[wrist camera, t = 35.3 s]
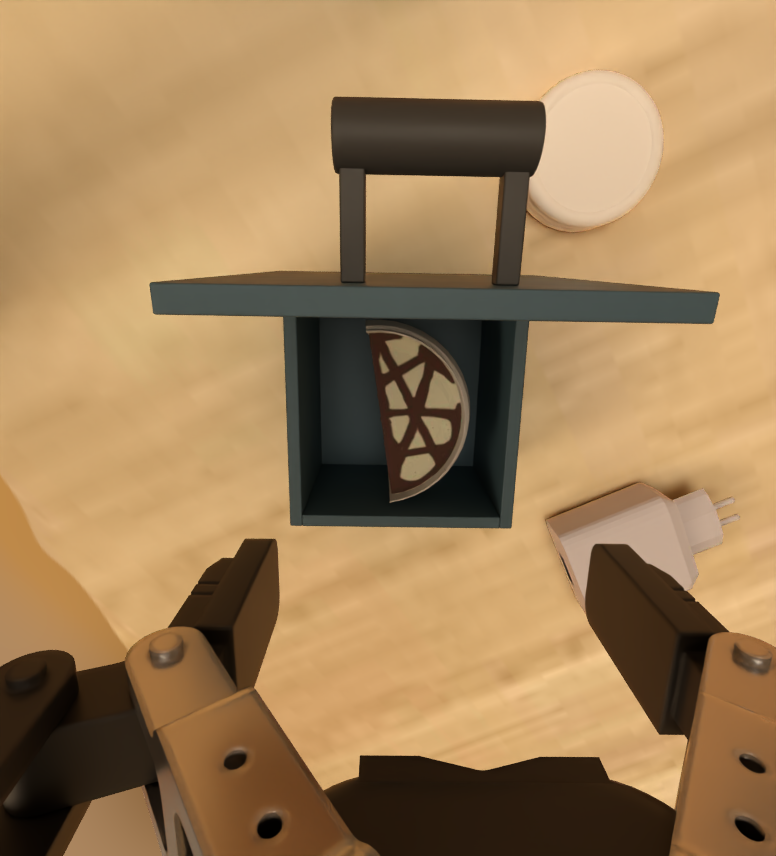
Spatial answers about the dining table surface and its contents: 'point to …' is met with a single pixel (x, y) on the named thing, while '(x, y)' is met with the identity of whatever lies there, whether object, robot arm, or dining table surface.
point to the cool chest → (363, 435)
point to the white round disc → (595, 151)
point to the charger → (640, 531)
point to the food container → (417, 406)
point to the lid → (433, 293)
